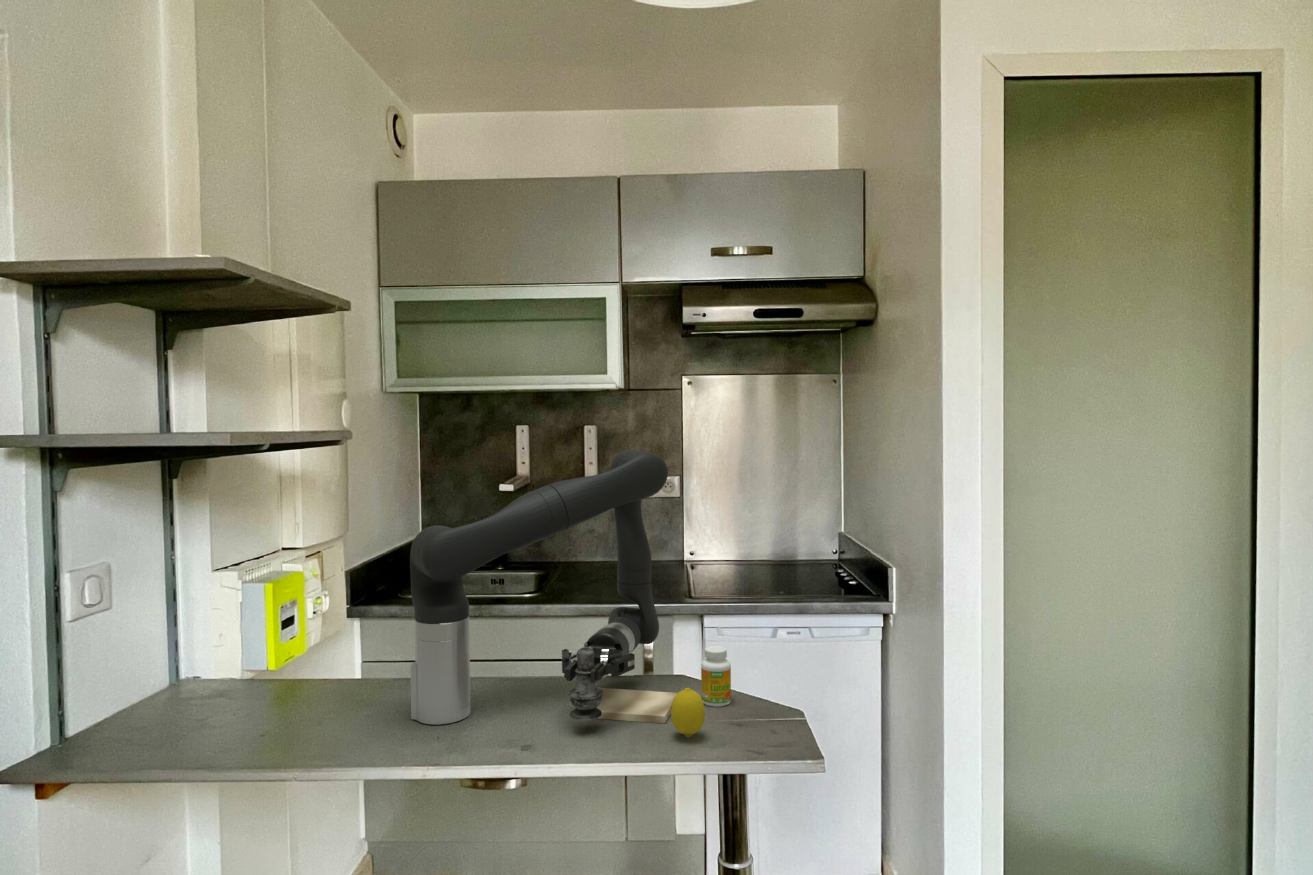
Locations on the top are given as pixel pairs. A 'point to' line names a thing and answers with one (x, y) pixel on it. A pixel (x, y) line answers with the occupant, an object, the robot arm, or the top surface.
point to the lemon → (688, 712)
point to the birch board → (636, 705)
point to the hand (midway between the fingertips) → (580, 675)
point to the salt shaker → (585, 688)
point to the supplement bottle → (716, 677)
